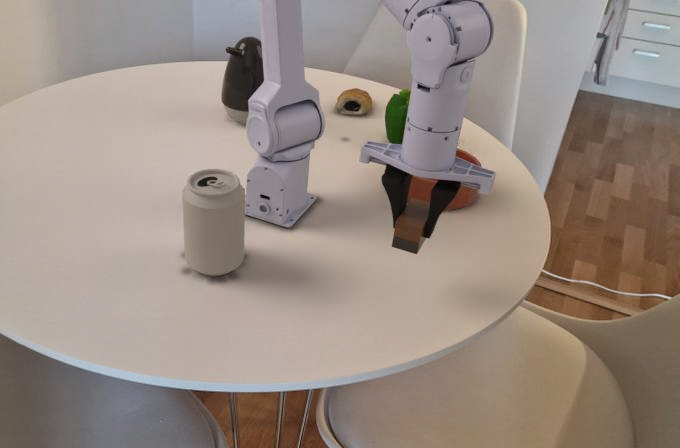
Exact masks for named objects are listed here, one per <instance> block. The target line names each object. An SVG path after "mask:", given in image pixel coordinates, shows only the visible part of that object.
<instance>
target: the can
mask: <svg viewBox="0 0 680 448" xmlns="http://www.w3.org/2000/svg"><path fill="white" fill-rule="evenodd" d="M181 200H182V202H181V203H182V220H183V221H182V223H183V224H182V225H183V243H184V244H183V245H184V261H185V262H186V264H187V266H188V267H190V268H191V269H192V270H193V271H196V272H197V273H199V274H202V275H204V276H209V277H216V276H217V277H219V276H223V275H227V274H230V273H232V272H233V271H234V270H236V269H237V268H238V267H240V265H242V264H243V261H244V259H245V231H246V230H245V224H246V223H245V221H246V214H245V205H246V190H245V188H244V186H243V185H242V184H241V180H240V178H239V176H238V175H236V174H235V173H233V172H232V171H229V170H227V169H220V168H207V169H201V170H198V171H195V172H194V173H192V174H190V176H188V178H187V180H186V184H185V186H184V187H183V189H182V191H181Z"/></svg>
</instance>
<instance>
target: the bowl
mask: <svg viewBox="0 0 680 448" xmlns="http://www.w3.org/2000/svg"><path fill="white" fill-rule="evenodd" d="M455 156H456V157H458V158H461V159H463V160H465V161H468V162H470V163H472V164H475V165H477V166H480V167H482V168H483V166H482V163H481V162H480V160H479V159H478V158H477V157H475V156H474V155H473V154H471V153H469V152H467V151H466V150H463V149H461V148H458V147H457V151H456V155H455ZM438 180H439V179H429V178H422V177H418V176H414V175H413V176H412V180H411V184H410V189H409V193H408V200H407V203H409V201H410V200H411V198H414V199H418V200H421V201H425V202H429V203H430V199H431V190H432V189H433V187H434V186H435V184H436V183H437V181H438ZM478 192H479V190H478V189H474V188H470V187H467V186H463V185H462V186H461V187H460V189H459V191H458V193H457V195H456V196H455V198H454V199H453V200H452V202H451V203H450V204H449V205H448V206H447V207H446V208H445V210H444V211H451V210H453V211H454V210H458V209H462V208H465V207H467V206H469V205H471V204H472V203H473V202H474V201H475V200H476V197H477V194H478Z"/></svg>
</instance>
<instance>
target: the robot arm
mask: <svg viewBox="0 0 680 448" xmlns="http://www.w3.org/2000/svg"><path fill="white" fill-rule="evenodd" d="M379 1H380V2H381V3H382V4H383V6H384V7H385V8H386V9H387V11H389V13H390V14H391V15H392V16H393V17H394V19H395V20H396V21H397V22H398V24H400V26H401V27H402V28H403V29H404V31H406V45H407V46H406V47H407V50H408V53H409V56H410V59H411V68H410V75H412V76H411V78H412V82H411V89H410V91H411V94H410V100H409V107H408V113H407V118H406V124H405V130H404V137H403V143H402V145H400V144H391V143H389V142H377V141H373V140H366V141H365V142H364V143H363V144H362V145H361V146H360V152H359V161H358V162H359V163H362V164H370V163H373V164H378V165H381V166H385V168H384V172H383V174H382V175H381V185H382V186H383V188H384V190H385V194H386V195H387V198H388V201H389V205H390V209H391V210H390V211H391V215H392V228H393V230H395V224H396V221H397V219H398V218H399V216H400V215H401V213H402V212H403V210H404V209H405V207H406V206H407V204H408V202H407V200H408V193H409V189H410V184H411V180H412V176H413V175H414V176H418V177H422V178H429V179H439V180H438V181H437V183H436V184H435V186H434V187H433V189H432V190H431V199H430V208H429V215H428V219H427V223H426V226H425V230H424V237H425V238H426V239H430V238H431V237H432V235H433V233H434V231H435V228H436V225H437V223H438V220H439V218H440V217H441V215H442V214H443V212H444V211H446V210H445V208H446V207H447V206H448V205H449V204H450V203H451V202H452V200H453V199H454V198H455V196H456V195H457V193H458V191H459V189H460V187H461V186H462V185H463V186H467V187H470V188H474V189H478V192H479V193H480V194H483V195H486V196H489V195H490V194H491V193H492V190H493V187H494V184H495V180H496V176H497V171H495V170H492V169H487V168H485V167H483V166H482V167H480V166H477V165H475V164H472V163H470V162H468V161H465V160H463V159H461V158H458V157H456V156H455V155H456V151H457V148H458V147H459V141H460V137H461V131H462V127H463V123H464V119H465V113H466V108H467V104H468V99H469V94H470V89H471V85H472V81H473V77H474V72H475V67H476V63H477V60H476V58H478V57H480V56H482V55H483V54H484V53H486V52H487V50H488V49H489V48H490V46H491V44H492V42H493V40H494V39H493V38H494V34H495V25H494V24H495V23H494V20H493V16H492V15H491V12H490V11H489V9H488V8H487V6H486V4H485V3H484V1H482V0H379ZM257 5H258V16H259V17H258V18H259V30H260V40H261V44H262V57H263V71H264V82H263V83H262V85H261V86H260V87H259V88H258V89H257V90H256V92H255V93H254V94H253V95H252V96H251V97H250V99H249V100H248V105H249V114H248V118H247V124H245V131H246V137H247V141H248V142H249V145H250V146H251V148H252V149H253V150H254V151H255V152H256V153H257V158H256V161H255V163H254V165H253V166H252V167H251V168H250V170H249V171H248V173H247V176H246V190H245V216H249V217H253V218H256V219H259V220H262V221H265V222H268V223H271V224H275V225H277V226H279V227H280V226H281V227H284V228H286V229H287V228H288V229H289V228H292V226H293V225H294V224H295V223H296V222H297V221H298V220H299V219H300V218H301V217H302V215H304V214H305V212H306V211H308V209H309V208H310V207H311V206H312V205H313V204H314V203H315V201H316V200H317V198H318V197H317V195H315V194H312V193H309V192H308V187H309V186H308V185H309V174H310V160H311V151H312V150H314V149H315V147H316V146H315V145H316V141H318V140H320V139H321V138H322V137H323V134H324V132H325V129H326V119H325V114H324V111H323V109H322V105H321V101H320V91H319V90H318V89H317V88H316V87H314V86H313V85H312V84H311V83H310V82H308V81H307V80H306V75H305V74H306V73H305V56H304V55H305V51H304V34H303V33H304V32H303V31H304V30H303V11H302V0H257Z"/></svg>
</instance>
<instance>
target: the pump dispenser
mask: <svg viewBox="0 0 680 448" xmlns="http://www.w3.org/2000/svg"><path fill="white" fill-rule="evenodd" d="M225 52H226V54H229V57H228V60H227V62H226V63H227V64H226V65H225V70H224V74H223V79H222V85H221V94H220V98H221V99H220V100H221V103H222V104H223V107H224V110H225V112H226V114H227V115H228V116H229V118H231V119H232V120H233V121H235V122H238V123H240V124H244V125H246V124H247V118H248V114H249V105H248V100H249V99H250V97H251V96H252V95H253V94H254V93H255V92H256V90H257V89H258V88H259V87H260V86H261V85H262V83H263V82H264V71H263V57H262V44H261V39H260V38H258V37H255V36H250V35H249V36H245V37H242V38H240V39H239V40H238V41H237V42H236V44H235V45H234V46H233V47H232V46H226V48H225Z"/></svg>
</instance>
